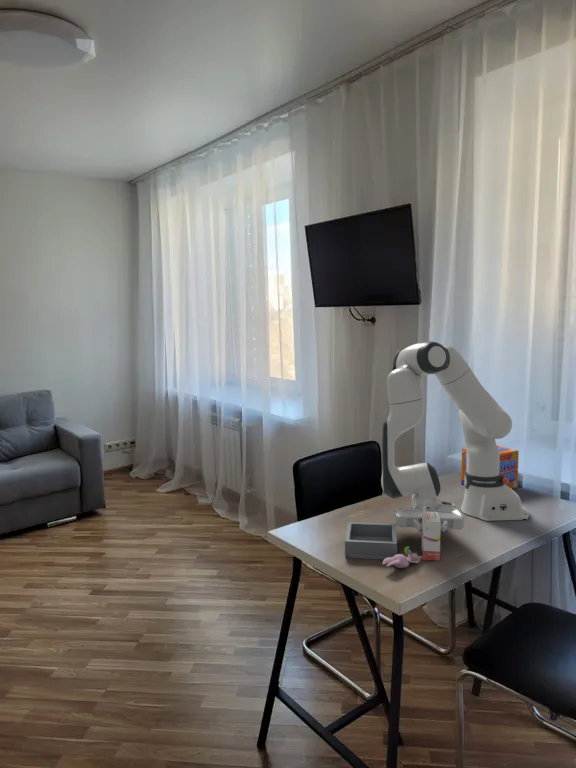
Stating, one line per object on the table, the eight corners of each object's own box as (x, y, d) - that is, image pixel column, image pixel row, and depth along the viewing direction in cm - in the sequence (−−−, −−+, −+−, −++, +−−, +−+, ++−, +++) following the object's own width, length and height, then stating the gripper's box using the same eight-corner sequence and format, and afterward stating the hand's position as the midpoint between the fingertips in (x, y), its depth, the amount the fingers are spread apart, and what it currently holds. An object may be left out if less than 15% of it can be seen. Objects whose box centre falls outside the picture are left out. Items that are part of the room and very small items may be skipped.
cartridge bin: (395, 539, 174) (395, 524, 173) (396, 560, 159) (397, 543, 159) (348, 536, 176) (347, 522, 176) (345, 557, 162) (344, 541, 161)
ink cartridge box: (441, 561, 158) (441, 512, 156) (423, 560, 159) (423, 511, 157) (438, 548, 166) (438, 502, 164) (421, 547, 167) (421, 501, 165)
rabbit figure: (411, 560, 162) (375, 567, 153) (413, 540, 162) (378, 546, 153) (427, 568, 157) (392, 575, 148) (430, 547, 157) (395, 553, 148)
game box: (491, 494, 214) (492, 455, 212) (460, 484, 227) (461, 447, 225) (517, 488, 221) (519, 450, 219) (486, 478, 235) (487, 442, 233)
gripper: (394, 501, 176) (395, 517, 162) (460, 503, 172) (467, 520, 159) (394, 520, 177) (395, 537, 163) (459, 523, 173) (466, 540, 160)
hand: (431, 528), depth 161 cm, fingers closed on ink cartridge box, 5 cm apart
